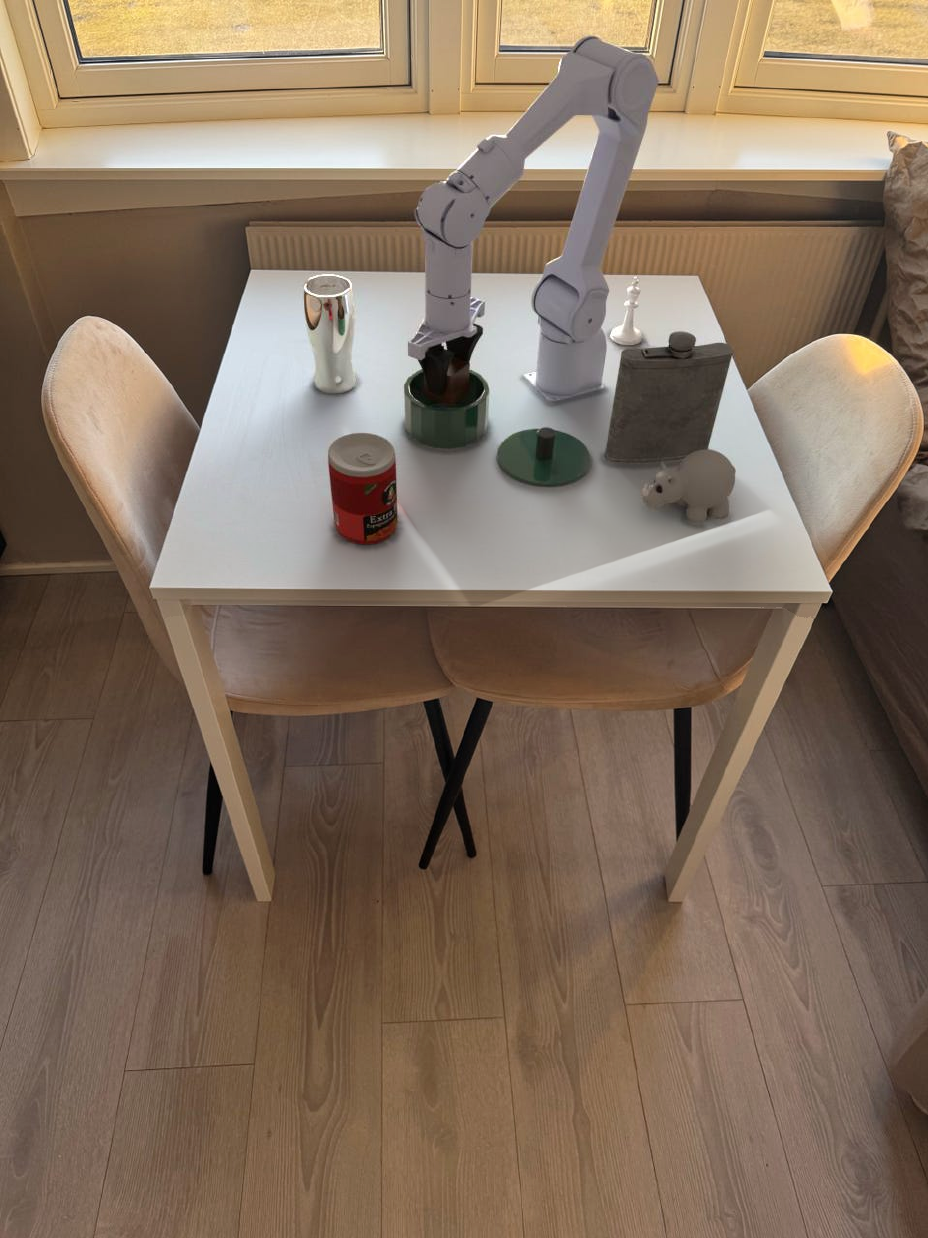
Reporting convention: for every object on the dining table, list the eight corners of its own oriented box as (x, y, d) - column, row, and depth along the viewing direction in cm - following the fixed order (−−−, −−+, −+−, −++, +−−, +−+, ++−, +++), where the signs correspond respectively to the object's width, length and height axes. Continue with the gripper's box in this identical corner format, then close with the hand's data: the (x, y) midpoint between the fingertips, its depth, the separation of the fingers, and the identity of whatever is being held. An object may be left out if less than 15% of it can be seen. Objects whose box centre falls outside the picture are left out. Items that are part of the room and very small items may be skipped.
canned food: (374, 554, 110) (370, 480, 102) (321, 530, 113) (312, 456, 105) (410, 520, 115) (409, 446, 107) (358, 497, 118) (353, 424, 110)
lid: (559, 426, 130) (563, 397, 127) (607, 475, 122) (612, 446, 119) (481, 447, 126) (482, 418, 123) (525, 500, 118) (527, 470, 115)
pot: (464, 397, 134) (465, 357, 130) (501, 439, 127) (504, 399, 123) (392, 415, 131) (390, 375, 126) (426, 460, 124) (425, 419, 119)
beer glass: (351, 398, 134) (344, 300, 123) (305, 392, 134) (294, 294, 124) (364, 373, 138) (359, 277, 128) (319, 367, 139) (310, 271, 128)
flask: (711, 461, 125) (743, 339, 112) (609, 469, 123) (630, 347, 110) (702, 445, 128) (732, 325, 115) (601, 453, 126) (621, 331, 113)
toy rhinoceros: (624, 501, 119) (635, 446, 112) (710, 488, 121) (725, 434, 115) (646, 537, 114) (658, 482, 108) (735, 523, 116) (752, 468, 110)
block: (442, 381, 127) (442, 352, 124) (469, 391, 126) (470, 362, 123) (423, 395, 125) (423, 366, 122) (450, 406, 123) (451, 376, 120)
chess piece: (646, 335, 148) (657, 275, 141) (633, 348, 146) (643, 287, 138) (618, 326, 150) (628, 267, 143) (605, 339, 147) (614, 279, 140)
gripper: (441, 320, 109) (440, 419, 118) (506, 275, 117) (500, 370, 127) (393, 303, 111) (395, 401, 121) (460, 260, 120) (458, 354, 130)
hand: (446, 384), depth 124 cm, fingers closed on block, 4 cm apart
